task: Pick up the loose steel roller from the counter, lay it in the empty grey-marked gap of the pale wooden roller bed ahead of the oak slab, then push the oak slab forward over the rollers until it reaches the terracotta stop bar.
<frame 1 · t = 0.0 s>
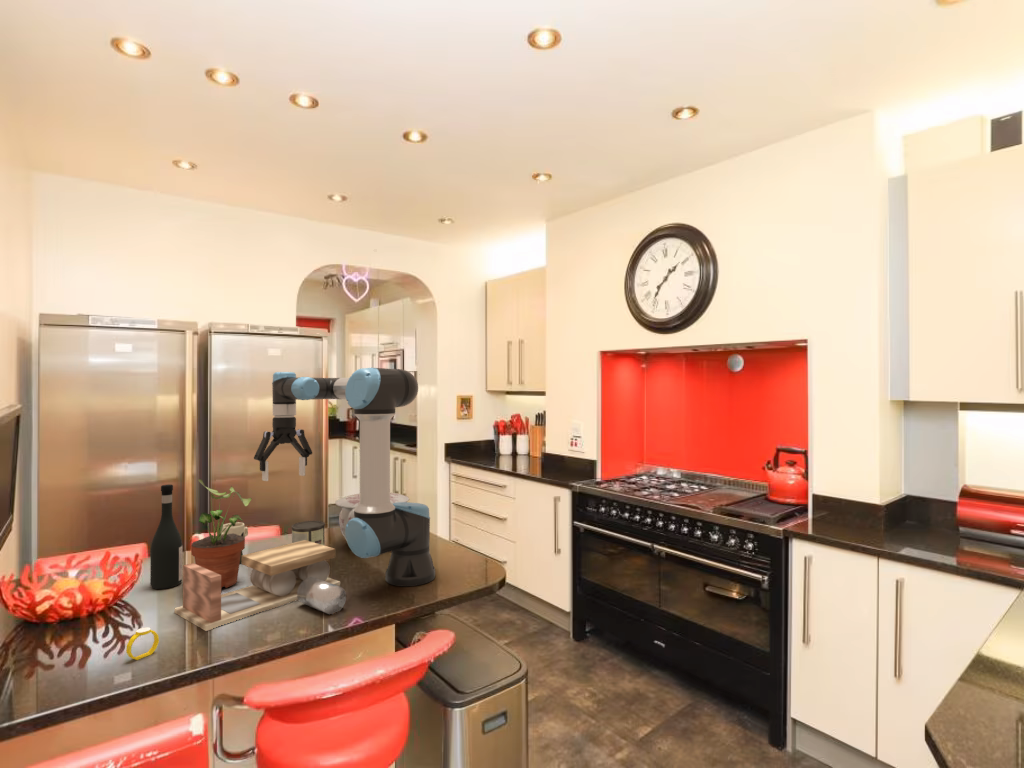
hand: (284, 478, 187), 28 cm above the kitchen island, tool pointing down, fingers open, 13 cm apart
wine bottle: (166, 586, 162), on the kitchen island
roller bed: (262, 598, 151), on the kitchen island
chamber pot: (372, 544, 205), on the kitchen island
oak slab: (289, 556, 158), point 10 cm above the kitchen island, slide at 0.0 cm
coffee can: (308, 567, 178), on the kitchen island
character mug: (232, 563, 182), on the kitchen island
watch: (142, 657, 118), on the kitchen island
potted plant: (221, 585, 162), on the kitchen island
loose roller: (321, 608, 145), on the kitchen island
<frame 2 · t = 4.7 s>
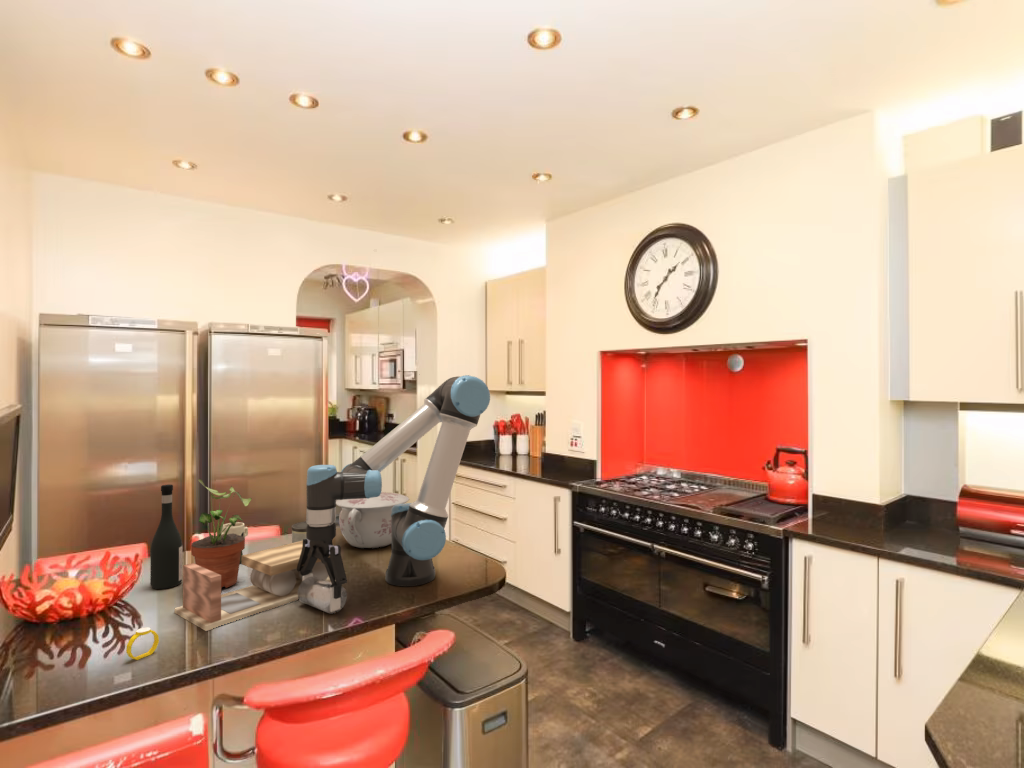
hand: (320, 604, 145), 1 cm above the kitchen island, tool pointing down, fingers closed on loose roller, 12 cm apart
loose roller: (321, 607, 145), on the kitchen island, touching gripper
everything else where it was.
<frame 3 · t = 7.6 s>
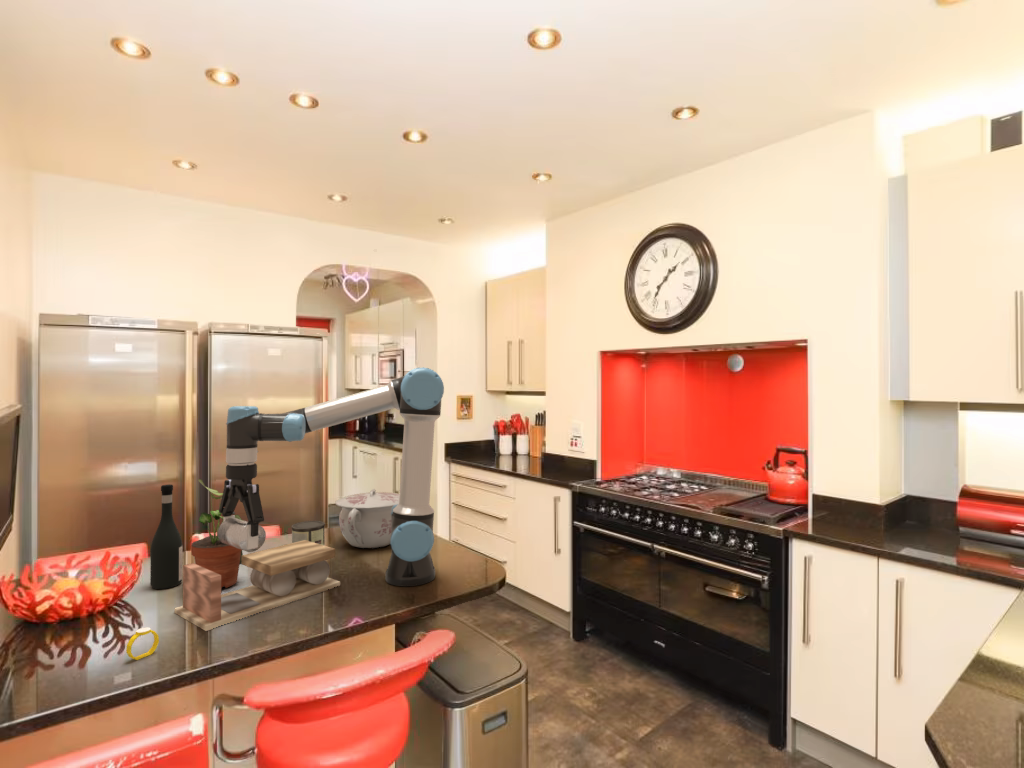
hand: (240, 544, 145), 17 cm above the kitchen island, tool pointing down, fingers closed on loose roller, 12 cm apart
loose roller: (240, 547, 145), point 16 cm above the kitchen island, touching gripper
everything else where it was.
when the fingers open (3 cm above the kitchen island, at t = 11.0 s): loose roller stays where it is, resting on roller bed.
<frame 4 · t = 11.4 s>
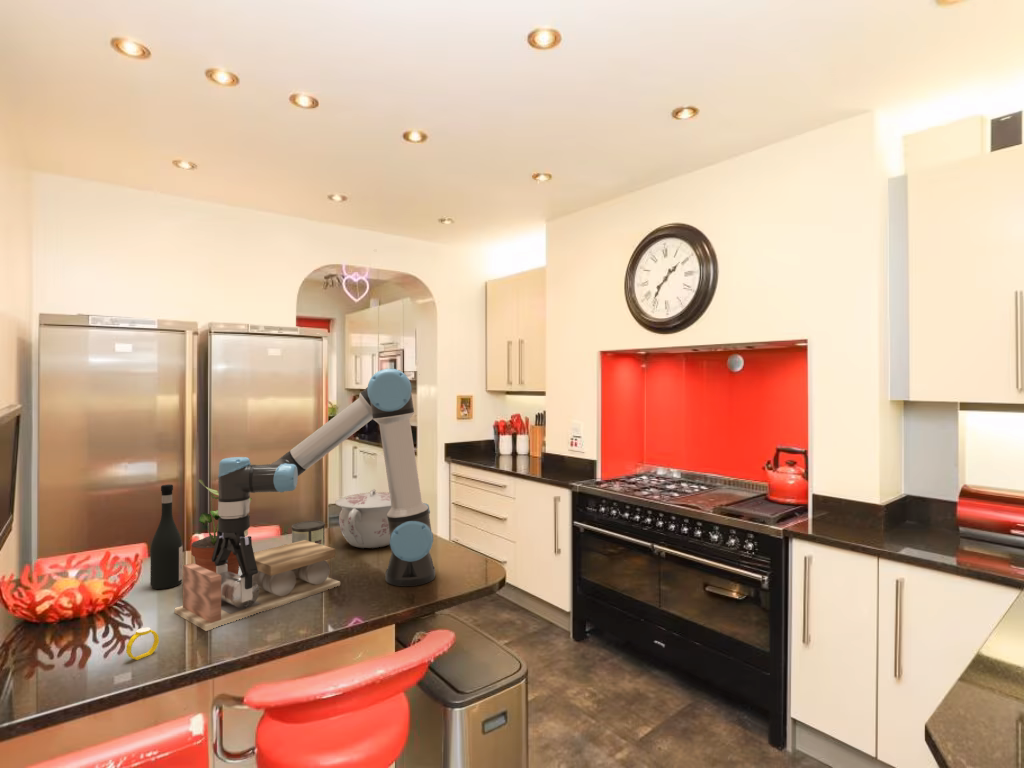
hand: (233, 594, 145), 3 cm above the kitchen island, tool pointing down, fingers open, 13 cm apart
loose roller: (234, 602, 145), point 1 cm above the kitchen island, touching roller bed
everything else where it was.
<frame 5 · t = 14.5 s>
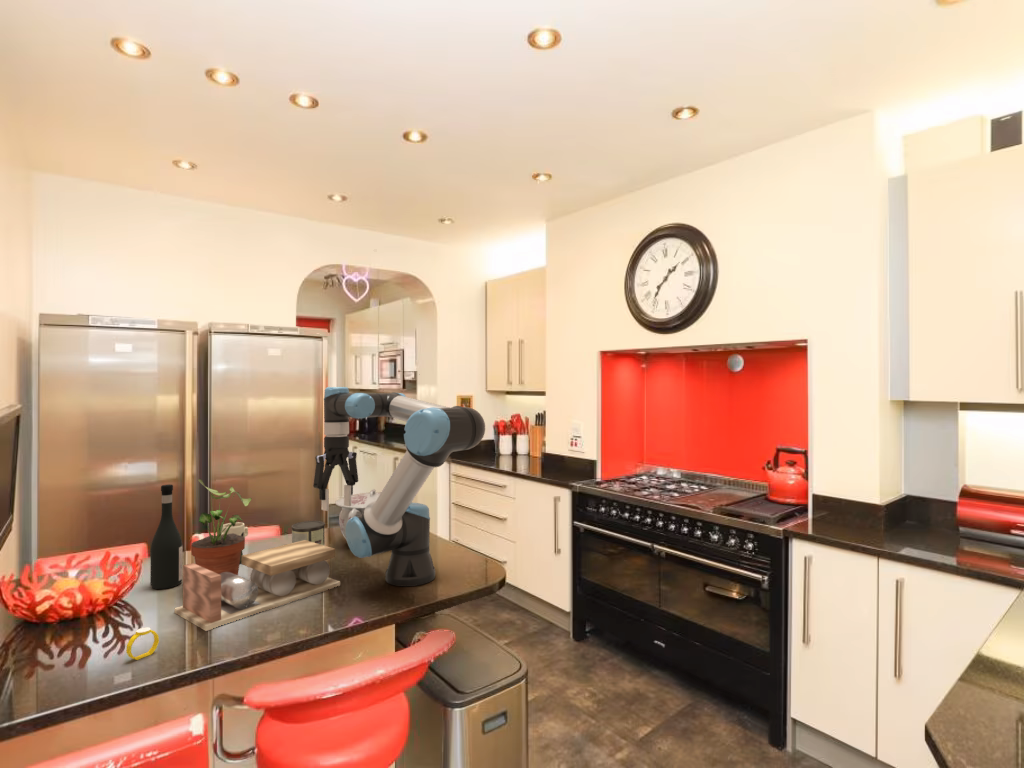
hand: (336, 507, 171), 21 cm above the kitchen island, tool pointing down, fingers open, 8 cm apart
nothing on the kitchen island moved.
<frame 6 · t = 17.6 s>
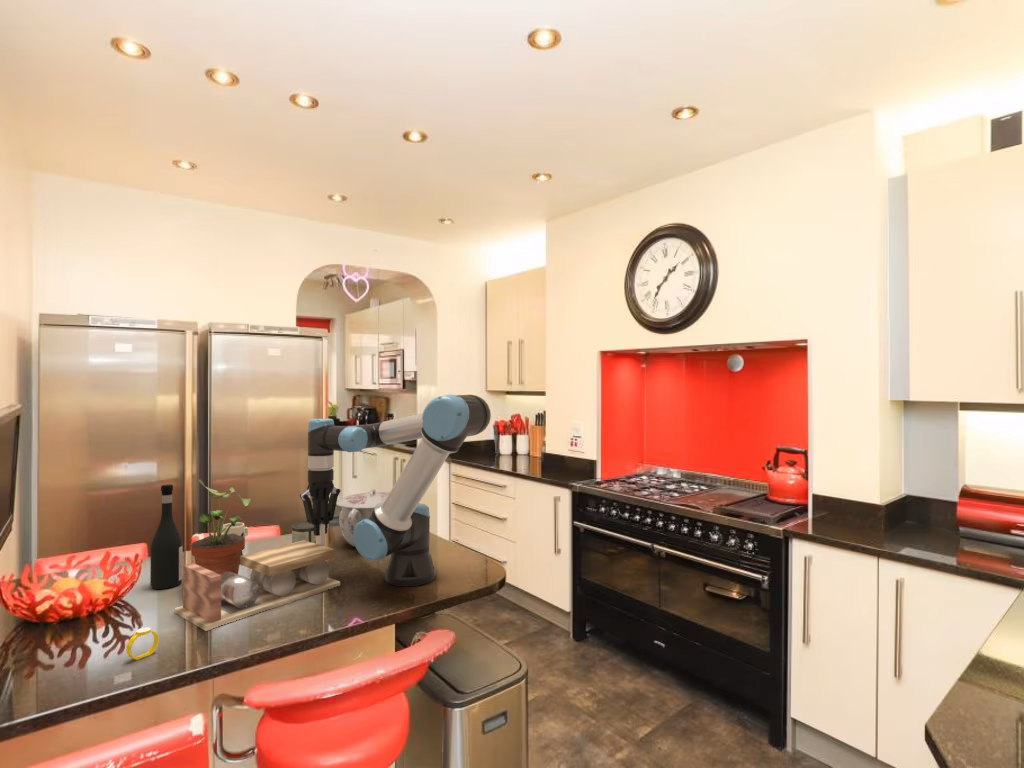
hand: (320, 545, 166), 11 cm above the kitchen island, tool pointing down, fingers closed
oak slab: (288, 556, 158), point 10 cm above the kitchen island, slide at 0.4 cm, touching gripper
everything else where it was.
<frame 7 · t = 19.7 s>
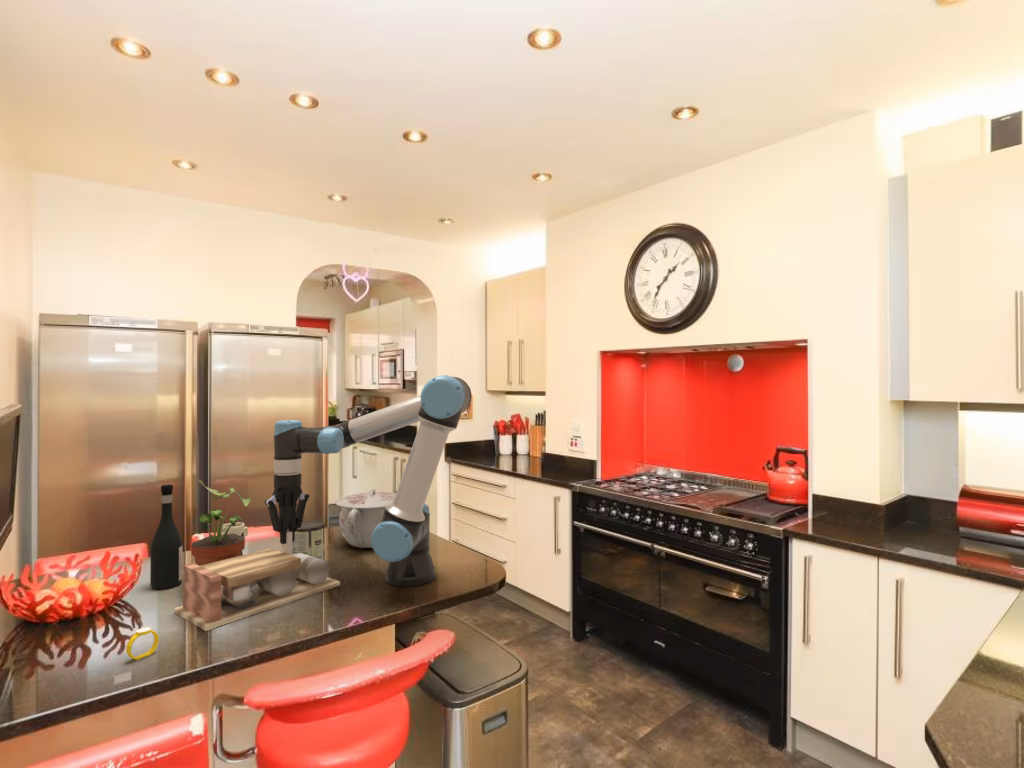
hand: (287, 554, 158), 11 cm above the kitchen island, tool pointing down, fingers closed
oak slab: (251, 566, 149), point 10 cm above the kitchen island, slide at 11.3 cm, touching gripper
everything else where it was.
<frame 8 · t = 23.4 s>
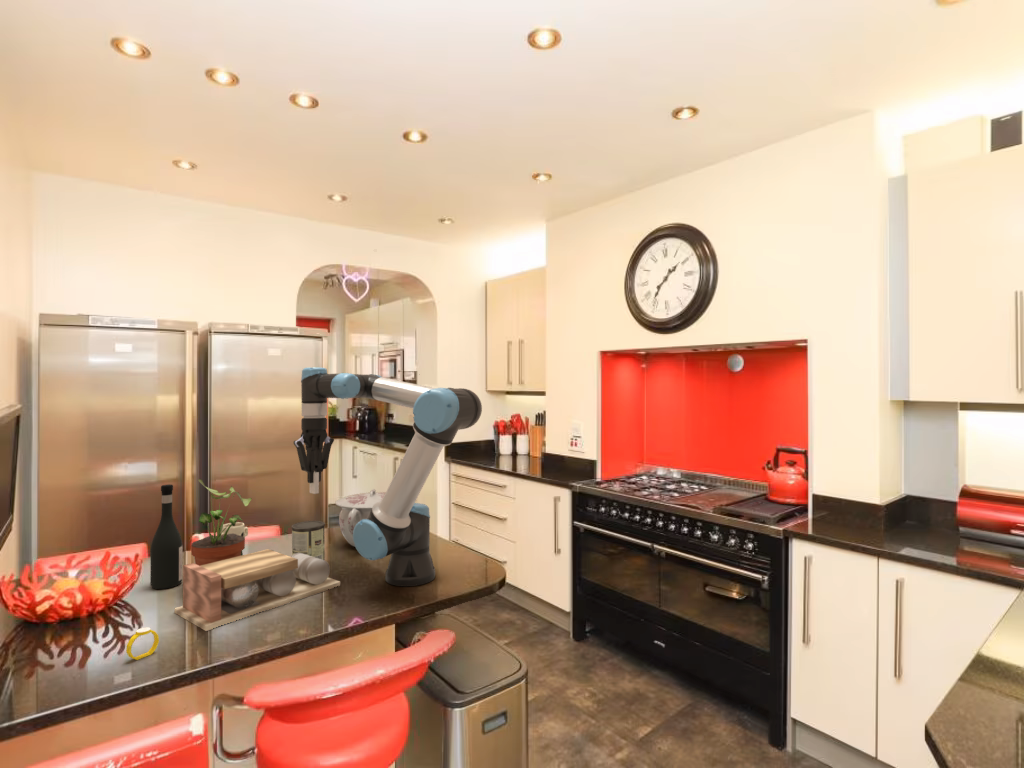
hand: (314, 492, 168), 26 cm above the kitchen island, tool pointing down, fingers closed
oak slab: (248, 567, 148), point 10 cm above the kitchen island, slide at 12.2 cm
everything else where it was.
at the end: oak slab slide at 12.2 cm; loose roller inside the target area (0.1 cm from its centre), point 1.3 cm above the kitchen island; the gripper is holding nothing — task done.
